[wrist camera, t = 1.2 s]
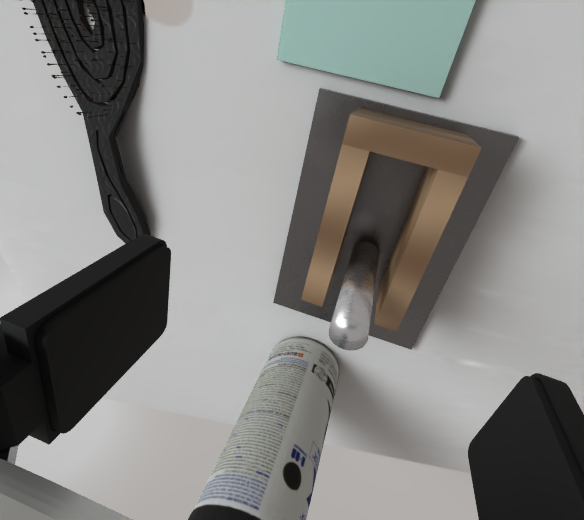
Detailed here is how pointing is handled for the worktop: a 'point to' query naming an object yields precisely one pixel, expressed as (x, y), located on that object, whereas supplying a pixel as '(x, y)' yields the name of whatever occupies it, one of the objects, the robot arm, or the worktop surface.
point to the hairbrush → (101, 87)
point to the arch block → (423, 213)
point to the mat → (377, 39)
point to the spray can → (275, 439)
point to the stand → (377, 223)
